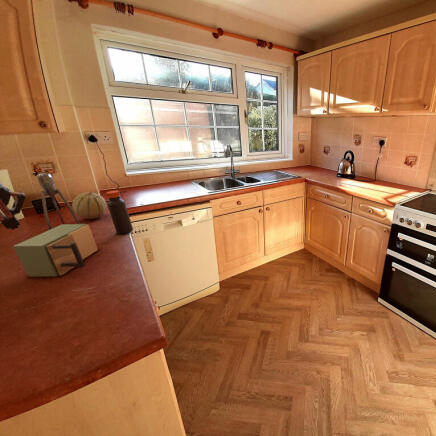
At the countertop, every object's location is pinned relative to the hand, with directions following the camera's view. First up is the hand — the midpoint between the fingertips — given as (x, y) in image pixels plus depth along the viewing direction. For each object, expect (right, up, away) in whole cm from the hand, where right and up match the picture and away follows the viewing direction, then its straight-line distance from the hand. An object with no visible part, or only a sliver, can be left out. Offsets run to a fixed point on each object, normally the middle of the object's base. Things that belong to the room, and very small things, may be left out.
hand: (14, 227), depth 70 cm
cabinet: (-7, -14, +23) cm, 28 cm away
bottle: (-1, -4, +48) cm, 48 cm away
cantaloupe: (-31, +3, +67) cm, 74 cm away
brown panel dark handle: (+4, -15, +18) cm, 24 cm away
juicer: (-27, -5, +47) cm, 54 cm away
